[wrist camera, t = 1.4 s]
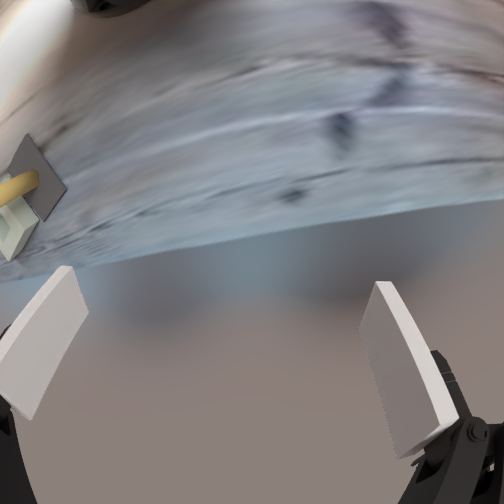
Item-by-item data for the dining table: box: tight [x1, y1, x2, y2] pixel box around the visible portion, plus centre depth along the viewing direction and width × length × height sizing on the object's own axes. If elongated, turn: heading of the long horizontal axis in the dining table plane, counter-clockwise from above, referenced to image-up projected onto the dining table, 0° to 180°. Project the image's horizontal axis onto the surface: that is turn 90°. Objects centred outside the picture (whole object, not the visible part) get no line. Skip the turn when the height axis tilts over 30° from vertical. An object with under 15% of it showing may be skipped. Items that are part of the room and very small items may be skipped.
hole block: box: [0, 177, 39, 262], centre depth 32 cm, size 10×10×4 cm
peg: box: [0, 169, 39, 208], centre depth 25 cm, size 3×3×12 cm
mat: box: [7, 134, 67, 222], centre depth 31 cm, size 12×8×1 cm, turn 35°
